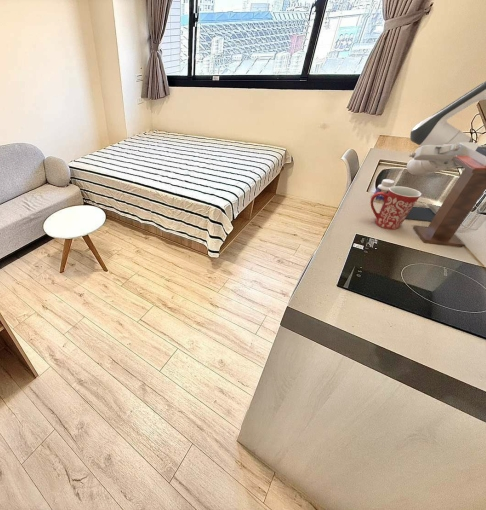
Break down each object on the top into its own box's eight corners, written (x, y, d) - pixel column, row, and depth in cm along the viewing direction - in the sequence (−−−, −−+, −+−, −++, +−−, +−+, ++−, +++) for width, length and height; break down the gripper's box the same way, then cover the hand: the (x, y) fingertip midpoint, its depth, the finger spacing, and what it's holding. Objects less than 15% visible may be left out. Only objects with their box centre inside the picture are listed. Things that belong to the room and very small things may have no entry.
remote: (470, 148, 90) (476, 138, 88) (503, 166, 77) (512, 155, 75) (454, 148, 91) (460, 138, 89) (484, 166, 78) (492, 154, 76)
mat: (429, 208, 112) (429, 207, 111) (442, 222, 103) (443, 222, 102) (393, 205, 115) (393, 204, 115) (403, 219, 106) (403, 218, 106)
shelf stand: (446, 230, 98) (496, 156, 83) (463, 249, 90) (523, 170, 74) (411, 226, 102) (454, 155, 86) (424, 244, 93) (474, 167, 77)
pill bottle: (375, 203, 118) (384, 183, 113) (369, 197, 122) (378, 178, 117) (389, 203, 117) (399, 183, 112) (382, 198, 121) (392, 178, 116)
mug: (401, 222, 105) (420, 188, 97) (403, 233, 99) (423, 198, 91) (362, 214, 111) (376, 182, 103) (361, 224, 105) (376, 191, 97)
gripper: (408, 147, 103) (432, 135, 90) (480, 150, 96) (517, 137, 83) (404, 165, 104) (427, 155, 91) (475, 168, 97) (510, 159, 84)
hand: (471, 147), depth 87 cm, fingers open, 5 cm apart
